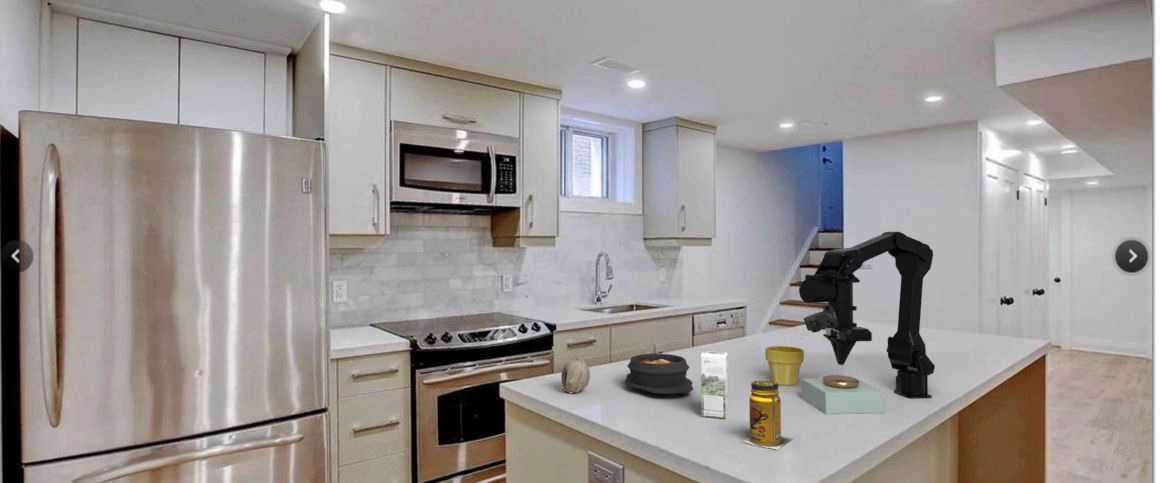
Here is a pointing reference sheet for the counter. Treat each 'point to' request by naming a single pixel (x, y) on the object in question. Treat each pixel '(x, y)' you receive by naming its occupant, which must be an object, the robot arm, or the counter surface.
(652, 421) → the counter surface
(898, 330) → the robot arm
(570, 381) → the garlic bulb
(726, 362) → the syrup box
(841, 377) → the copper round dome
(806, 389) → the base
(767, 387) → the condiment
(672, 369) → the casserole
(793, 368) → the plant pot
